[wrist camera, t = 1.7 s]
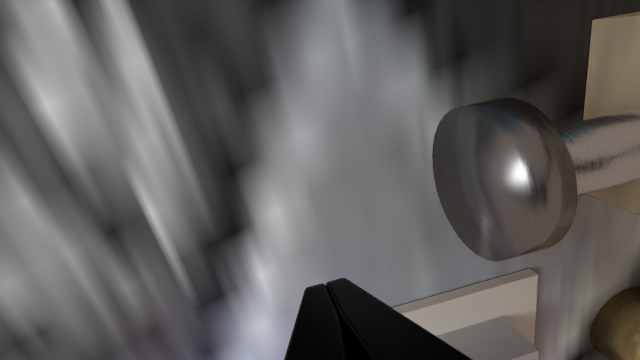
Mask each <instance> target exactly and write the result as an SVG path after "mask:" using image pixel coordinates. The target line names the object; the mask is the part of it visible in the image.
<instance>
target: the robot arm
mask: <svg viewBox="0 0 640 360" xmlns="http://www.w3.org/2000/svg"><path fill="white" fill-rule="evenodd" d="M284 360H473V359H471V358H470V357H468V356H467V355H465V354H463V353H462V352H460V351H459V350H457V349H456V348H454V347H452V346H451V345H449V344H448V343H446V342H445V341H443V340H441V339H440V338H438V337H437V336H435V335H434V334H432V333H430V332H429V331H427V330H426V329H424V328H423V327H421V326H420V325H418V324H416V323H415V322H413V321H412V320H410V319H409V318H407V317H405V316H404V315H402V314H401V313H399V312H398V311H396V310H394V309H393V308H391V307H390V306H388V305H387V304H385V303H383V302H382V301H380V300H379V299H377V298H376V297H374V296H372V295H371V294H369V293H368V292H366V291H365V290H363V289H362V288H360V287H358V286H357V285H355V284H354V283H352V282H351V281H349V280H347V279H346V278H340V279H337V280H333V281H329V282H327V283H326V285H325V284H318V285H314V286H310V287H307V288H306V289H305V291H304V295H303V298H302V302H301V305H300V308H299V312H298V315H297V318H296V322H295V325H294V328H293V332H292V335H291V339H290V342H289V345H288V349H287V352H286V355H285V359H284Z"/></svg>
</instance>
